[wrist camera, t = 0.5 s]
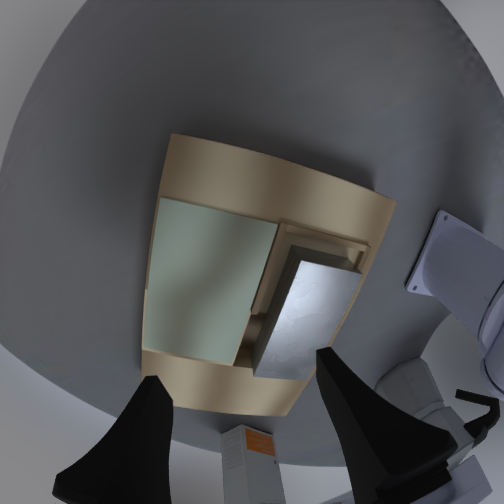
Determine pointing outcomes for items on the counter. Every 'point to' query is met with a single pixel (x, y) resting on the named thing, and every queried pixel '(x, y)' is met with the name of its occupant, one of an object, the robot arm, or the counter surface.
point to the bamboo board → (239, 265)
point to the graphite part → (303, 313)
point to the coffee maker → (436, 405)
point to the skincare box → (250, 467)
